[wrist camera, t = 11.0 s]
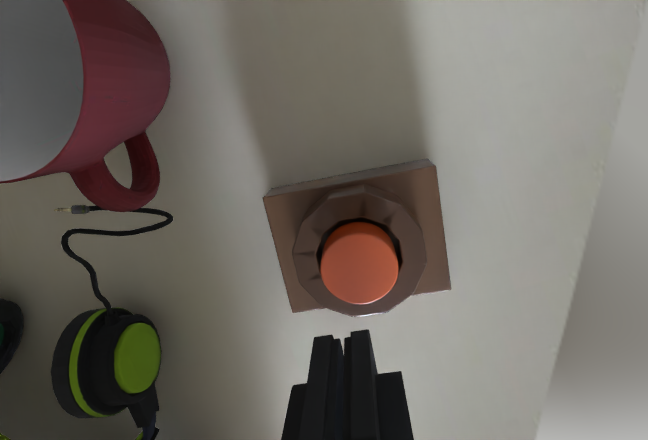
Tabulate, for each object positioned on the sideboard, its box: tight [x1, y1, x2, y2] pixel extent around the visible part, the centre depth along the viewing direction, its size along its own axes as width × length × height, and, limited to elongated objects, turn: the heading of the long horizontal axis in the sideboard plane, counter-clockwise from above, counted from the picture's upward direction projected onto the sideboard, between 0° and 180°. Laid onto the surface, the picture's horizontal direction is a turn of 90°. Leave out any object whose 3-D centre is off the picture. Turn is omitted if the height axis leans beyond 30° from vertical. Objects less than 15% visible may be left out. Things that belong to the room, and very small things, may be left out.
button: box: [320, 222, 399, 304], centre depth 19 cm, size 4×4×2 cm
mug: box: [0, 0, 170, 212], centre depth 17 cm, size 11×8×10 cm
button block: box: [263, 159, 451, 317], centre depth 21 cm, size 9×7×4 cm
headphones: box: [0, 205, 173, 440], centre depth 22 cm, size 16×10×20 cm
